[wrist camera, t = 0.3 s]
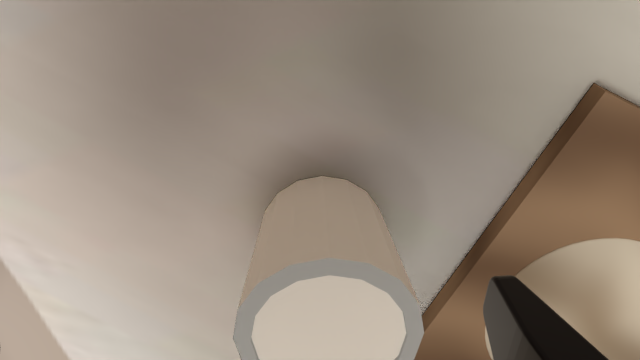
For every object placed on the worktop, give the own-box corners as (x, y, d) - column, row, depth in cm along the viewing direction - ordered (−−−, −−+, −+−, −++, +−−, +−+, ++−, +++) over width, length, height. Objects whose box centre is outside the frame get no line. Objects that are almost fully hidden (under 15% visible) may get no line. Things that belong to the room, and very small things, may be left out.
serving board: (564, 455, 35) (571, 472, 34) (365, 392, 31) (367, 409, 30) (827, 205, 26) (847, 217, 25) (593, 83, 23) (606, 92, 22)
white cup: (400, 162, 25) (433, 257, 18) (391, 285, 28) (417, 401, 22) (243, 164, 24) (224, 262, 18) (252, 288, 28) (239, 406, 22)
